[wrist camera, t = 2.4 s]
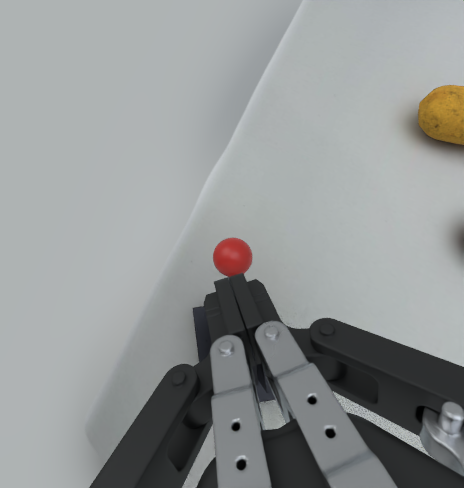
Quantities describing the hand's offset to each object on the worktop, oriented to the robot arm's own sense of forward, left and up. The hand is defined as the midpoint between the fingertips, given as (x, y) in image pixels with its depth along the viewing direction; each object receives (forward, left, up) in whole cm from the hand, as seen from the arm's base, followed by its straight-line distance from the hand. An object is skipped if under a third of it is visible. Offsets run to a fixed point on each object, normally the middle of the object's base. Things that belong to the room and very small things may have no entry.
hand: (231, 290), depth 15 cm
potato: (+43, 0, -25) cm, 50 cm away
